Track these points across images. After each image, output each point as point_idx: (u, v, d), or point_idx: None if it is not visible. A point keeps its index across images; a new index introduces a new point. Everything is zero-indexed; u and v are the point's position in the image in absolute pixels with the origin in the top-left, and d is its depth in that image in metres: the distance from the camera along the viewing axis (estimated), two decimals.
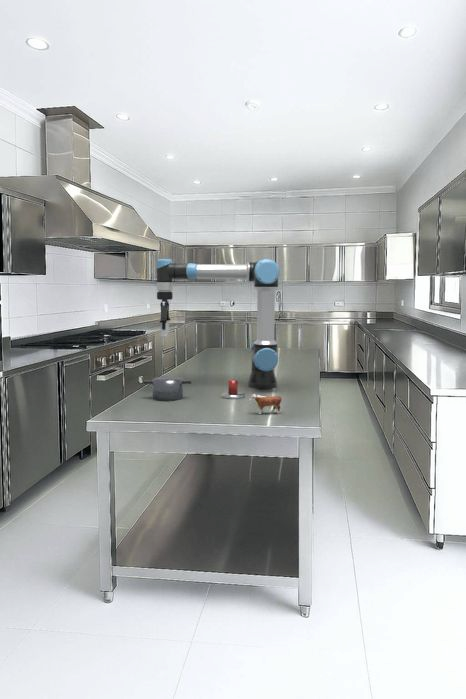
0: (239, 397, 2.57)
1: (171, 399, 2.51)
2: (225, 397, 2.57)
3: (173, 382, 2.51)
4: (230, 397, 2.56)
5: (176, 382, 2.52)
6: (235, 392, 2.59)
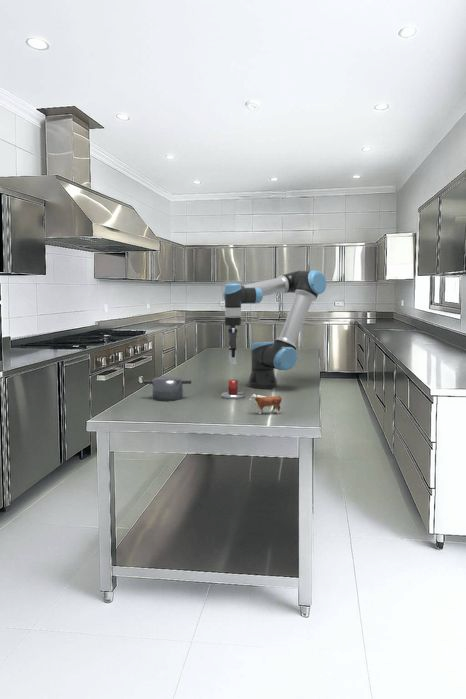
0: (239, 397, 2.57)
1: (171, 399, 2.51)
2: (225, 397, 2.57)
3: (173, 382, 2.51)
4: (230, 397, 2.56)
5: (176, 382, 2.52)
6: (235, 392, 2.59)
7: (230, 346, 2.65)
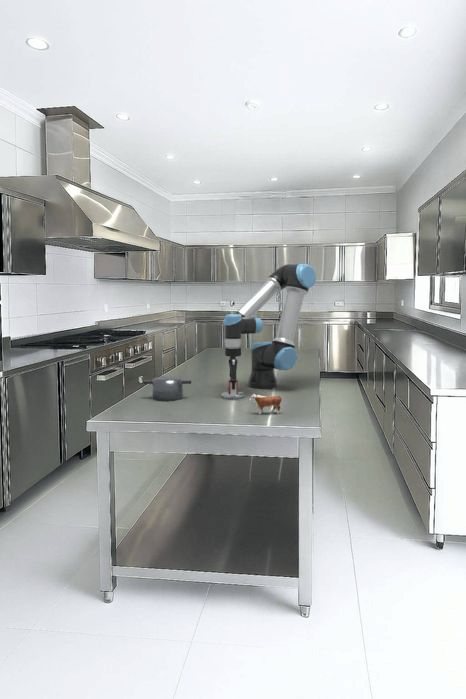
0: (239, 397, 2.56)
1: (171, 399, 2.51)
2: (225, 397, 2.57)
3: (173, 382, 2.51)
4: (230, 397, 2.56)
5: (176, 382, 2.52)
6: None
7: None
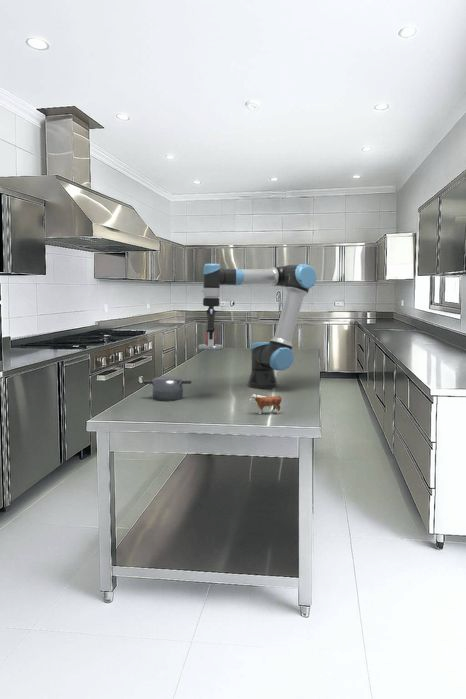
0: (216, 347, 2.52)
1: (171, 399, 2.51)
2: (202, 347, 2.53)
3: (173, 382, 2.51)
4: (207, 347, 2.51)
5: (176, 382, 2.52)
6: None
7: None
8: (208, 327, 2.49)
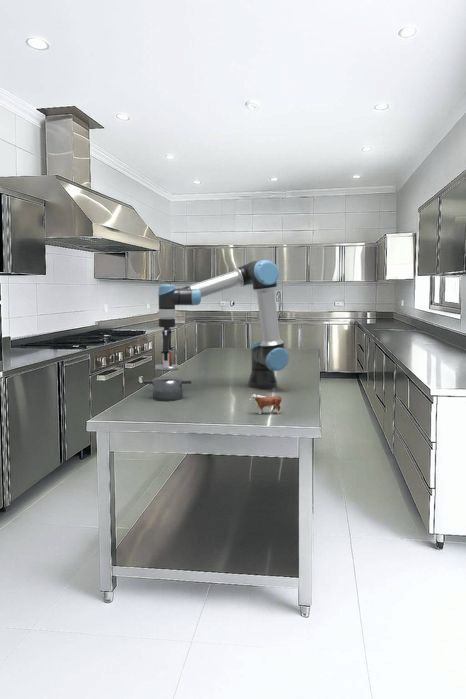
0: (172, 368, 2.52)
1: (171, 399, 2.51)
2: (158, 368, 2.52)
3: (173, 382, 2.51)
4: (162, 368, 2.51)
5: (176, 382, 2.52)
6: (169, 363, 2.54)
7: None
8: (163, 348, 2.49)
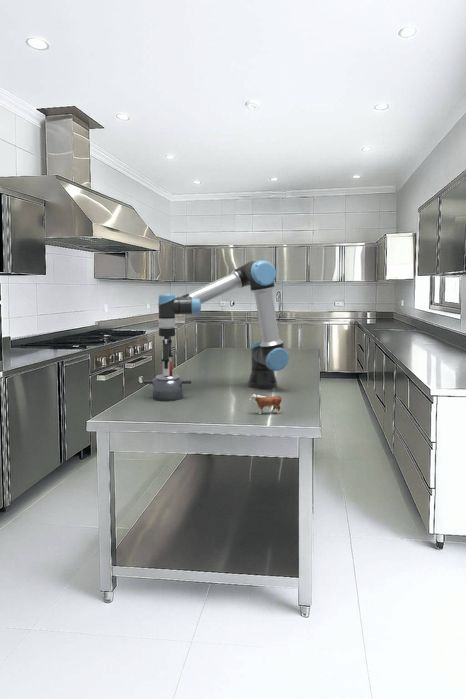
0: (172, 379, 2.52)
1: (171, 399, 2.51)
2: (158, 378, 2.53)
3: (173, 382, 2.51)
4: (163, 378, 2.52)
5: (176, 382, 2.52)
6: (169, 374, 2.55)
7: None
8: None
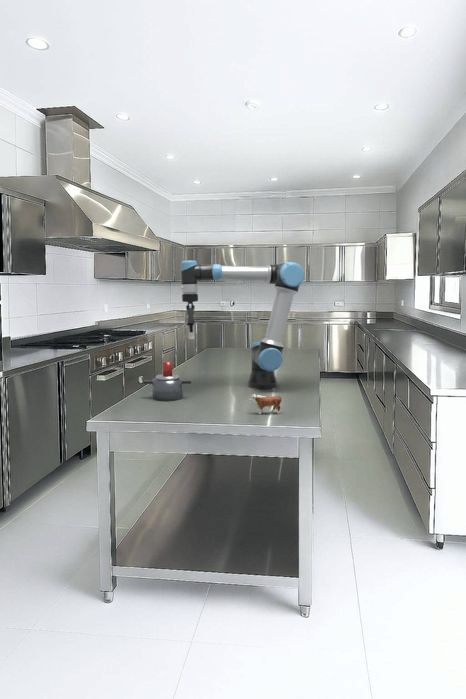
0: (172, 379, 2.52)
1: (171, 399, 2.51)
2: (158, 378, 2.53)
3: (173, 382, 2.51)
4: (163, 378, 2.52)
5: (176, 382, 2.52)
6: (169, 374, 2.55)
7: None
8: (188, 321, 2.58)
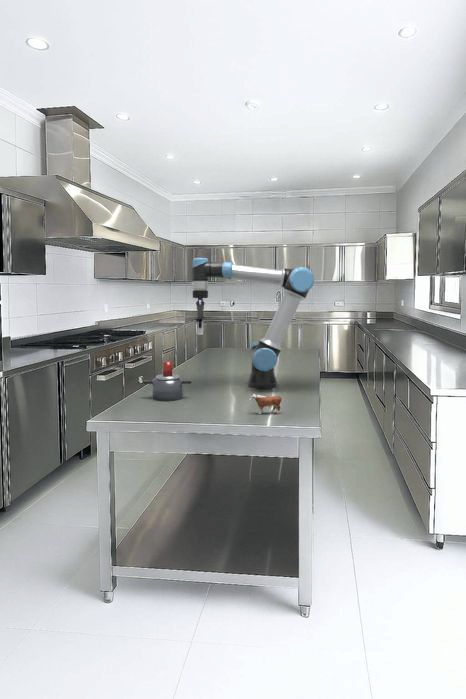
0: (172, 379, 2.52)
1: (171, 399, 2.51)
2: (158, 378, 2.53)
3: (173, 382, 2.51)
4: (163, 378, 2.52)
5: (176, 382, 2.52)
6: (169, 374, 2.55)
7: None
8: None
